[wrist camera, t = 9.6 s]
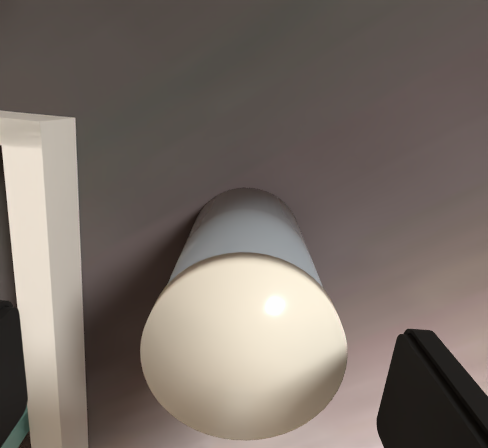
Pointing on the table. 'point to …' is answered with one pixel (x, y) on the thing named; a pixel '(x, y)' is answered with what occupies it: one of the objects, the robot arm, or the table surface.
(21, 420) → the pusher
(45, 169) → the frame
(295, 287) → the jar
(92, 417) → the table surface
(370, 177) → the table surface
